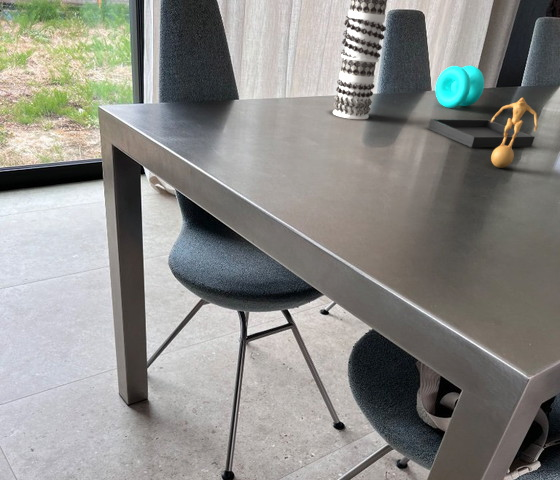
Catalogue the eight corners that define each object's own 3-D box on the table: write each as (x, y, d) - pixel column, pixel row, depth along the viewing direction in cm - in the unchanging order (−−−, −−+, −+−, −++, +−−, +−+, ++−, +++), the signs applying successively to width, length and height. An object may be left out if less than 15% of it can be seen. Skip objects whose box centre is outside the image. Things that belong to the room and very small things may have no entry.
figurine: (474, 164, 107) (495, 95, 100) (482, 158, 112) (502, 91, 105) (519, 174, 104) (543, 104, 97) (524, 168, 109) (548, 100, 102)
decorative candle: (325, 114, 130) (343, -17, 116) (339, 108, 137) (357, -16, 123) (362, 121, 128) (385, -11, 113) (374, 115, 135) (398, -10, 120)
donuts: (429, 103, 156) (438, 62, 150) (449, 101, 162) (459, 62, 156) (459, 112, 150) (471, 70, 144) (479, 109, 156) (491, 69, 150)
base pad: (485, 128, 136) (488, 119, 134) (531, 146, 125) (534, 136, 124) (427, 128, 129) (430, 119, 128) (471, 147, 118) (474, 137, 117)
